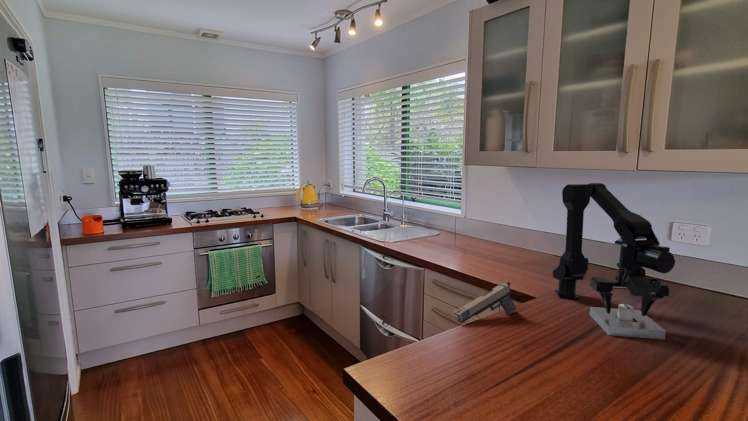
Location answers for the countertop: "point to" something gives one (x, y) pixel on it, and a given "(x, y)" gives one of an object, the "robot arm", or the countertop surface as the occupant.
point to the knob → (625, 313)
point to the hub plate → (627, 324)
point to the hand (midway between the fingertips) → (625, 314)
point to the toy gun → (487, 303)
